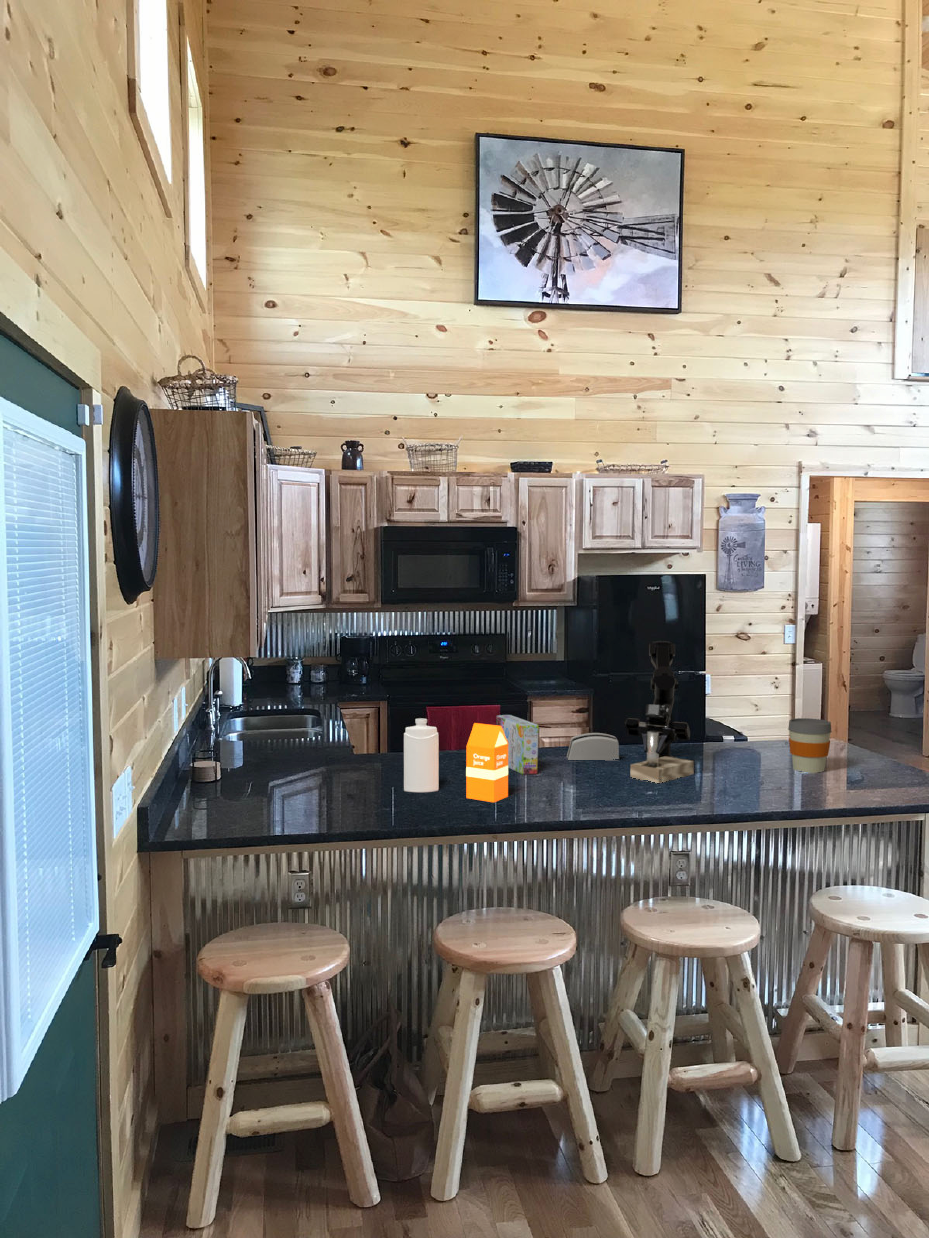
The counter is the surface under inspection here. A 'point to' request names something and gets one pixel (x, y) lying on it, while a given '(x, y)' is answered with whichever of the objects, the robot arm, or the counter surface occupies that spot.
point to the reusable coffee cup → (809, 743)
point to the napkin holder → (593, 747)
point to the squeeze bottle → (421, 757)
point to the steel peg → (652, 749)
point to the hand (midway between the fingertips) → (651, 752)
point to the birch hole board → (663, 770)
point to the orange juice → (487, 763)
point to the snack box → (520, 743)
